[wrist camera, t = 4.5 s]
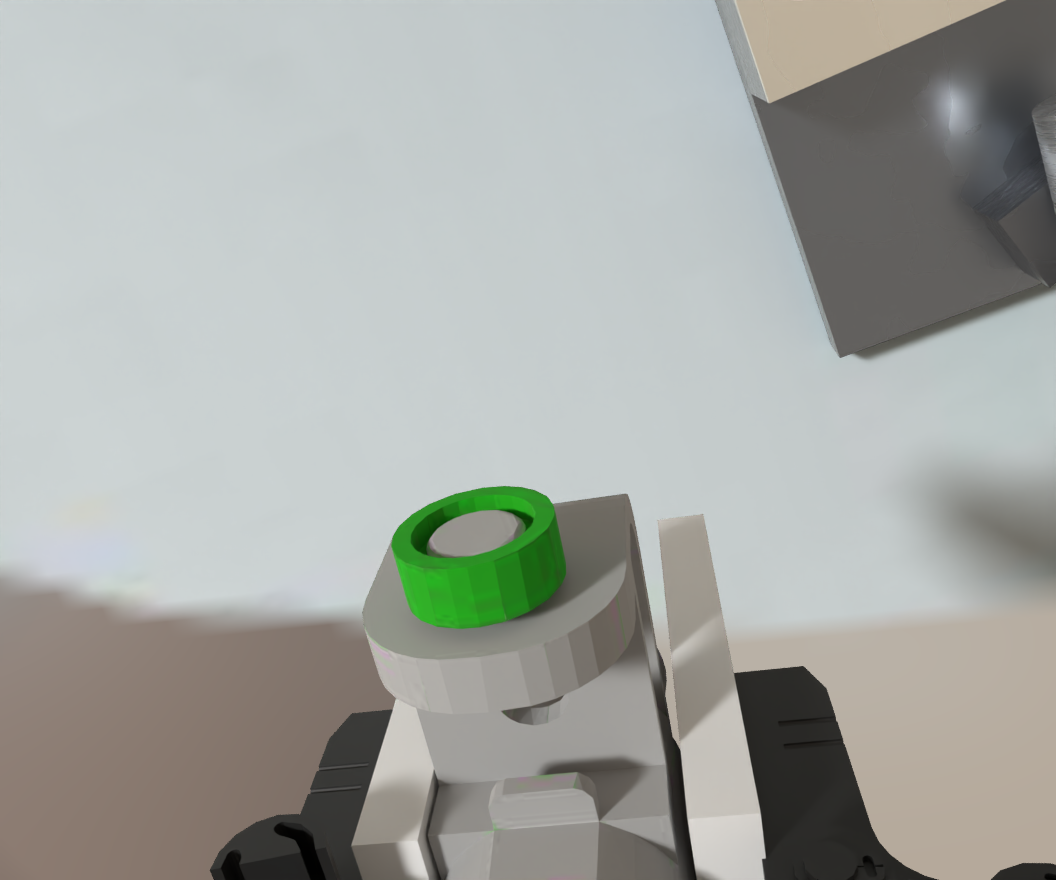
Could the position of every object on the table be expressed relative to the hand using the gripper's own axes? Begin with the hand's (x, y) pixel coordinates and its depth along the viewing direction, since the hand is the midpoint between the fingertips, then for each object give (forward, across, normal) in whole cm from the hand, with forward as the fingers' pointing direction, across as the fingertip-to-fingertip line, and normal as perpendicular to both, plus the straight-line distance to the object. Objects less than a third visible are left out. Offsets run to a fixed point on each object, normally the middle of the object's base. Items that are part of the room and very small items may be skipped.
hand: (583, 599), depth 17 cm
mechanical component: (+3, 0, 0) cm, 3 cm away
